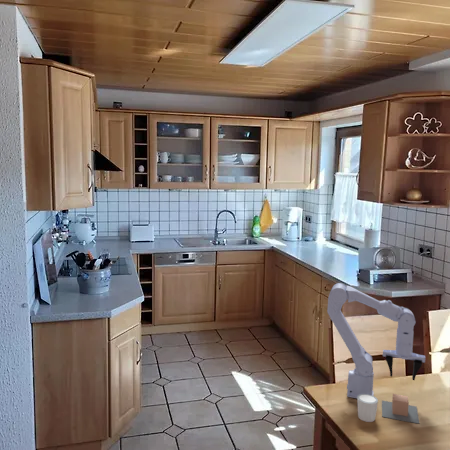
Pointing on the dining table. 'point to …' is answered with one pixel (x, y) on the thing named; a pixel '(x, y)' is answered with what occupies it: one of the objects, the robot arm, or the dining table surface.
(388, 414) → the slate mat
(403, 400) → the terracotta block
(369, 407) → the white cup
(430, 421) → the dining table surface
